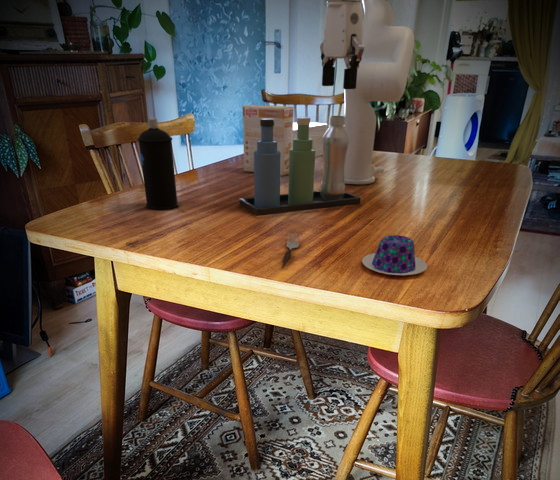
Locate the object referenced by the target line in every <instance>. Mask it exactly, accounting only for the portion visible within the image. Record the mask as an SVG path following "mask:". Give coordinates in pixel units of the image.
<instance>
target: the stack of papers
mask: <svg viewBox="0 0 560 480" xmlns="http://www.w3.org/2000/svg"><path fill="white" fill-rule="evenodd" d="M297 125H298V124H297V122H293V139H294V138H297ZM327 130H328V123H322V122H311V121H310V125H309V138H311V139H313V144H312V149H315V158H316V157H318V156H324V155H323V137H324V135H325V133H326V131H327Z"/></svg>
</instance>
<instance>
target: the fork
mask: <svg viewBox="0 0 560 480" xmlns="http://www.w3.org/2000/svg"><path fill="white" fill-rule="evenodd" d="M297 234H298V233H297V232H295V237H294V233H292V235H291V232H289V233H288V238H287V240H286V241H287V242H286V245H285V246H286V247H285V248H287V249H288V250H287V251H286V252H285V254H284V257H283V263H282V267H284V266H286V265H287V263H288V261H289V260H290V258H291V256H292V250H293V249H298V248H299V246H300V239H301V237H300V236H301V232H299V234H298V238H297ZM290 237H291V240H290Z"/></svg>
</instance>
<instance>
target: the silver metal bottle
mask: <svg viewBox="0 0 560 480" xmlns="http://www.w3.org/2000/svg"><path fill="white" fill-rule="evenodd" d="M328 125H329V127H328V128H327V129H326V130H327V131H326V133H325V135H324V137H323V155H322V156H323V167H322V176H321V182H320V187H319V191H320V196H321V197H322V199H324V200H328V201H329V200H339V199H343V197H344V194H345V192H346V184H345V182H344V167H345V159H346V153H347V148H348V143H349V139H348V135H347V133H346V131H345V129H344V125H345V116H344V115H330V116H329V122H328Z"/></svg>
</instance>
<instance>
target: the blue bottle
mask: <svg viewBox="0 0 560 480" xmlns="http://www.w3.org/2000/svg"><path fill="white" fill-rule="evenodd" d="M260 126H261V140H258V141H257V151H254V172H253V197H254V206H255V207H257V208H266V207H275V206H280V195H281V176H280V157H281V152H279V151H277V141H276V140H273V126H274V119H270V118H263V119H260Z"/></svg>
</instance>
